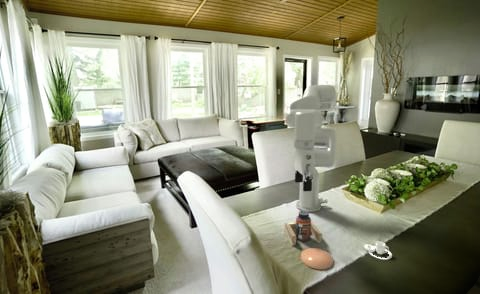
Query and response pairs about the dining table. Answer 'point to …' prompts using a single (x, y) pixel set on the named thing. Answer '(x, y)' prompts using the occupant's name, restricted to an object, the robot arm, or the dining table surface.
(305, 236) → the supplement bottle
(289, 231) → the wooden u-shaped frame
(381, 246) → the white headphones
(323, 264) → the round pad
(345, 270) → the dining table surface
